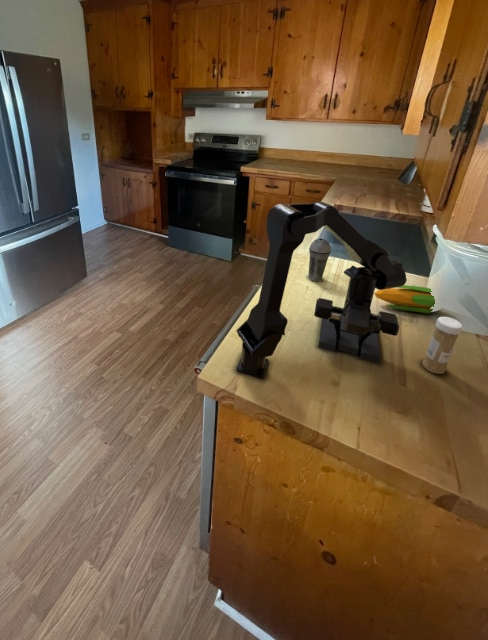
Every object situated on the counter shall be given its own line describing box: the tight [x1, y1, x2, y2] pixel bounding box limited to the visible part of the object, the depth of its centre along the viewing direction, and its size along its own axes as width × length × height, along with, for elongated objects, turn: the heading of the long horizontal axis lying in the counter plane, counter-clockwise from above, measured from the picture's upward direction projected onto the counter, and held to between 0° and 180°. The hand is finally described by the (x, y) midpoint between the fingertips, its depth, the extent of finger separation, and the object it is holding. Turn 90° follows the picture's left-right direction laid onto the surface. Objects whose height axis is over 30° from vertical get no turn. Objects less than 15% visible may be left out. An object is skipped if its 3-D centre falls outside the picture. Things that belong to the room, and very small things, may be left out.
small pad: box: [337, 331, 360, 356], centre depth 86 cm, size 6×4×2 cm
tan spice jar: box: [422, 316, 463, 375], centre depth 77 cm, size 5×5×14 cm
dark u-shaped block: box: [317, 316, 381, 364], centre depth 91 cm, size 18×14×2 cm
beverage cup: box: [308, 228, 332, 282], centre depth 117 cm, size 7×7×20 cm
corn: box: [374, 284, 435, 314], centre depth 102 cm, size 7×8×20 cm
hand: (348, 342), depth 86 cm, fingers closed on small pad, 4 cm apart
